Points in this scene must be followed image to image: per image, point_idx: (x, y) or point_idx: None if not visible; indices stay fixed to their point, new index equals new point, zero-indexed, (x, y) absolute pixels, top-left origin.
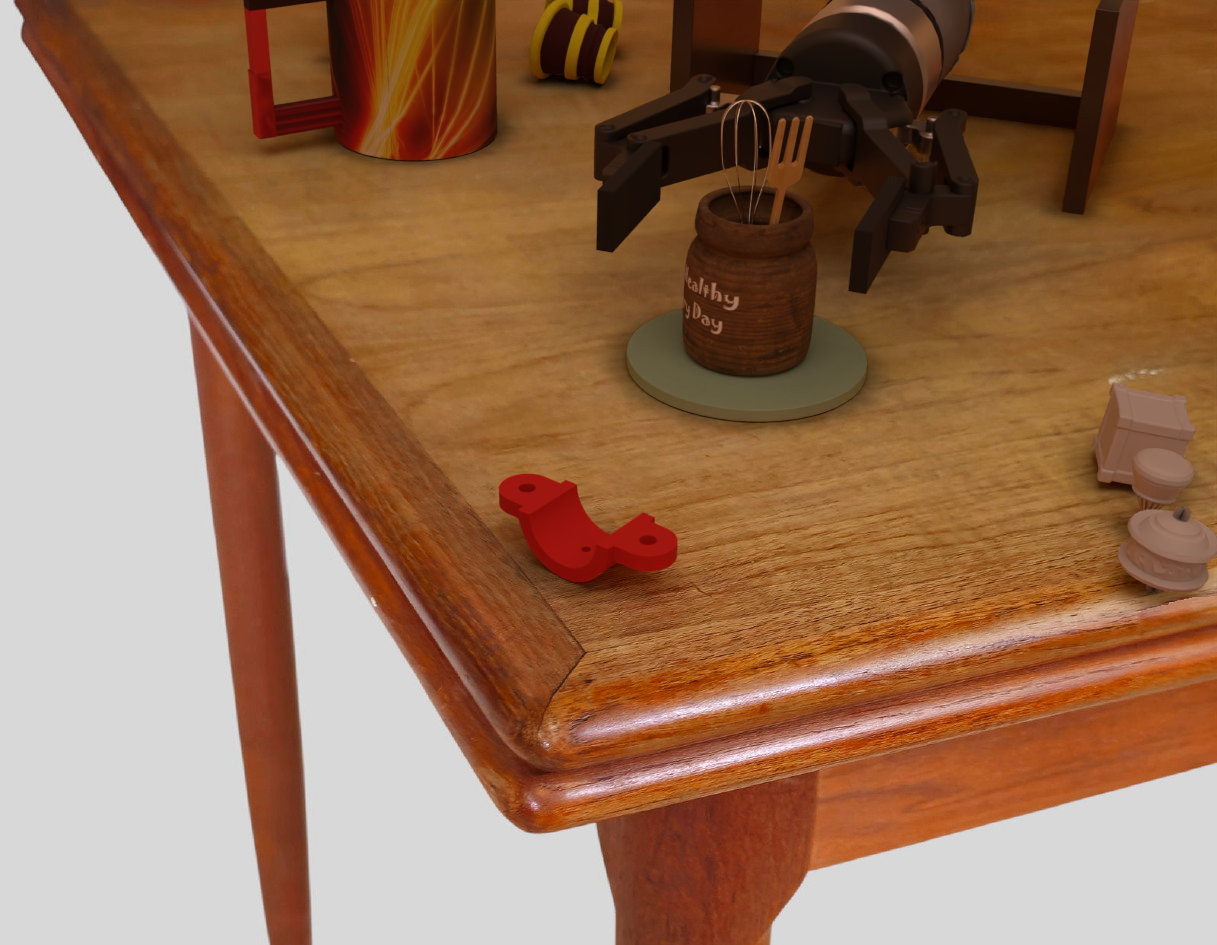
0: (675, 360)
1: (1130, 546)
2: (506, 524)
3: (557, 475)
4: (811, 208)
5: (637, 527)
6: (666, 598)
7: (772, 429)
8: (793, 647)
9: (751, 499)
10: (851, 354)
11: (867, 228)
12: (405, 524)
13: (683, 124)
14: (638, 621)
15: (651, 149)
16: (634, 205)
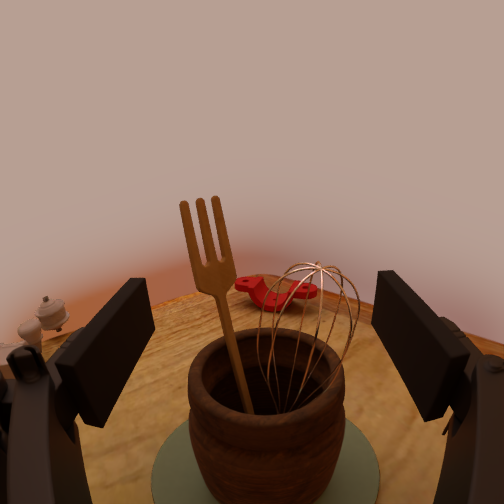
0: None
1: (64, 311)
2: (317, 311)
3: (319, 337)
4: (190, 380)
5: (252, 283)
6: (238, 301)
7: None
8: (190, 295)
9: None
10: (166, 492)
11: (133, 280)
12: (351, 301)
13: (502, 437)
14: (244, 293)
15: (440, 337)
16: (395, 334)
